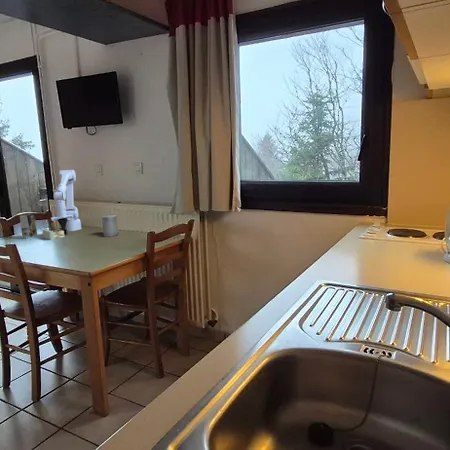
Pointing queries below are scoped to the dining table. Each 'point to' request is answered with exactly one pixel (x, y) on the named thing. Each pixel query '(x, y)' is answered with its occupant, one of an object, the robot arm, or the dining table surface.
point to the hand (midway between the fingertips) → (63, 229)
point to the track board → (48, 234)
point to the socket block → (58, 234)
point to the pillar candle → (110, 225)
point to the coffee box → (28, 225)
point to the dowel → (53, 226)
